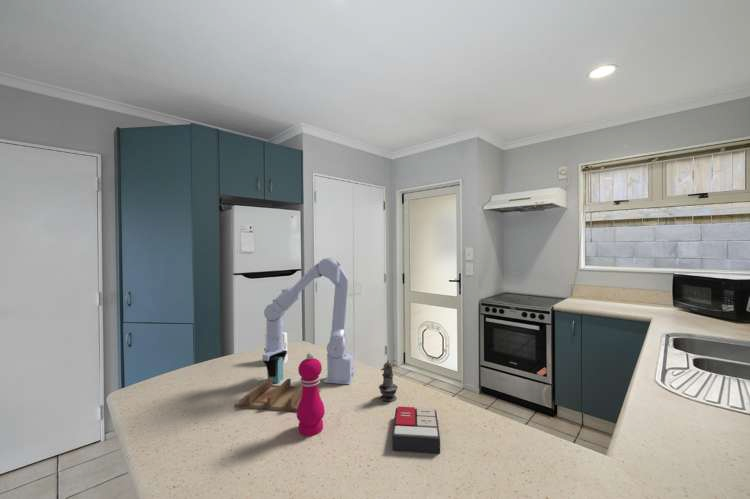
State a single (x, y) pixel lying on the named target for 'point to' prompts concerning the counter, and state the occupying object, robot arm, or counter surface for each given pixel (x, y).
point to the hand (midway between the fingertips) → (275, 373)
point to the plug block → (278, 371)
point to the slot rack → (273, 397)
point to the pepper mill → (310, 397)
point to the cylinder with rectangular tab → (283, 342)
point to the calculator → (416, 430)
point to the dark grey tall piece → (388, 384)
